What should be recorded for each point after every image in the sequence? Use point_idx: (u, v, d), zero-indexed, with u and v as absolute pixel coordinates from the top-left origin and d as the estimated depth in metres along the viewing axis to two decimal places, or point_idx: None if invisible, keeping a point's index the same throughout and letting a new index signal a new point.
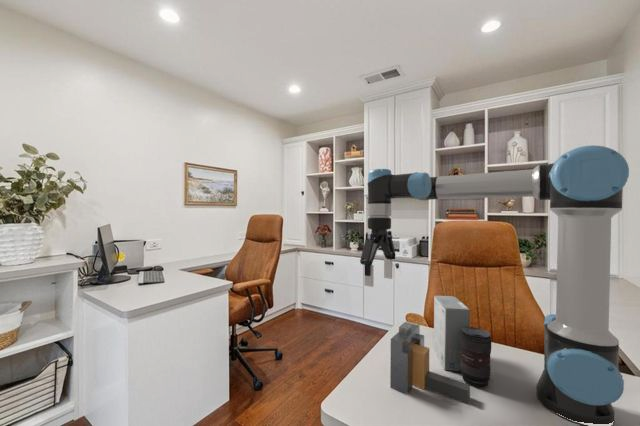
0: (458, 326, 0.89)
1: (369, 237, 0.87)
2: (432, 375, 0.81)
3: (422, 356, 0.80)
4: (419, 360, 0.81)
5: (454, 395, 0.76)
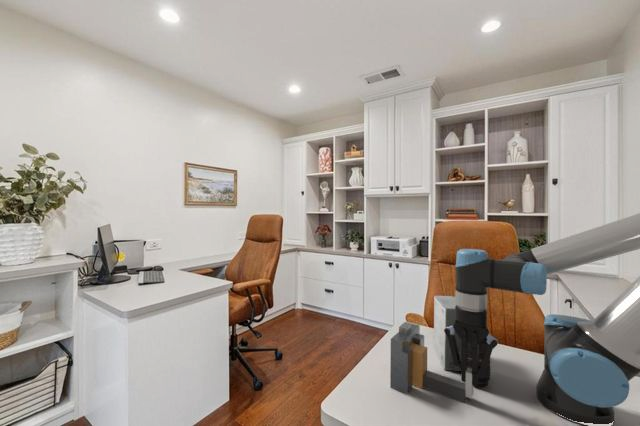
0: None
1: None
2: (430, 374, 0.81)
3: (420, 355, 0.81)
4: (417, 360, 0.81)
5: (452, 394, 0.76)
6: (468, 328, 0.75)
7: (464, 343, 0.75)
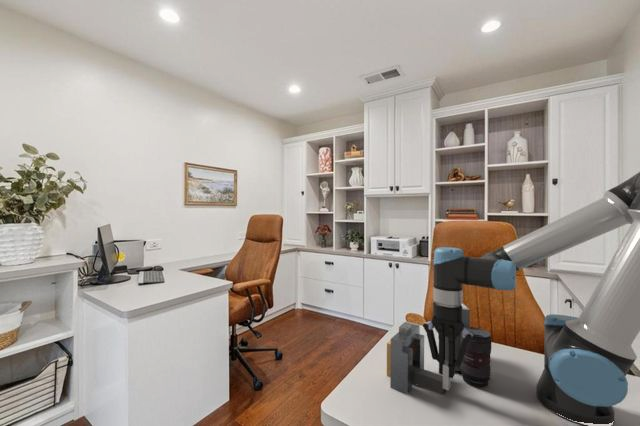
0: None
1: None
2: None
3: None
4: None
5: (430, 386, 0.80)
6: (445, 323, 0.78)
7: (441, 337, 0.78)
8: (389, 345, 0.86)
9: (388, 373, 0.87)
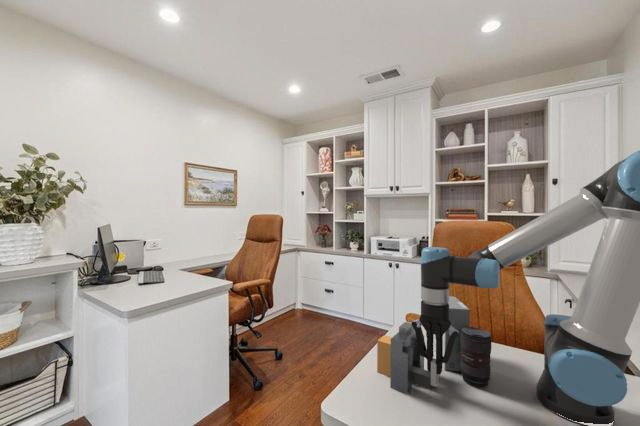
0: (457, 326, 0.89)
1: None
2: None
3: (390, 346, 0.86)
4: (388, 351, 0.87)
5: (419, 382, 0.82)
6: (432, 321, 0.80)
7: (429, 335, 0.80)
8: (379, 342, 0.88)
9: (378, 370, 0.88)
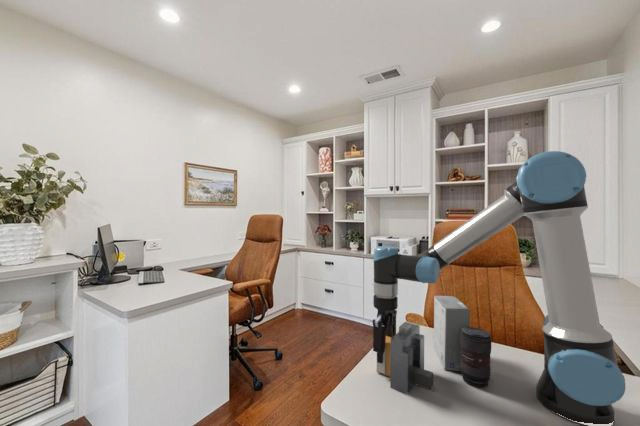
0: (457, 326, 0.89)
1: (377, 326, 0.85)
2: None
3: (390, 346, 0.86)
4: (387, 350, 0.87)
5: (418, 382, 0.82)
6: (388, 313, 0.89)
7: (387, 327, 0.87)
8: None
9: None
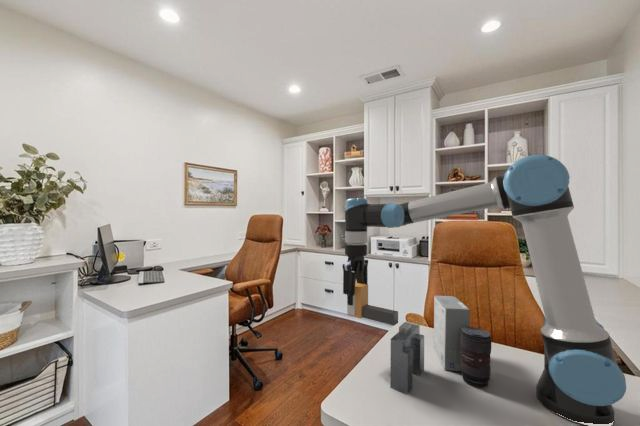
0: (457, 326, 0.89)
1: (346, 269, 0.91)
2: (368, 306, 0.93)
3: (359, 289, 0.92)
4: (357, 294, 0.93)
5: (384, 319, 0.88)
6: (358, 259, 0.95)
7: (357, 272, 0.93)
8: None
9: None
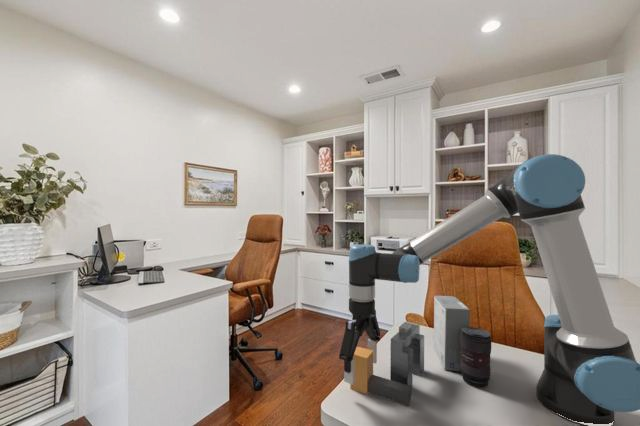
0: (457, 326, 0.89)
1: (349, 327, 0.76)
2: (375, 379, 0.79)
3: (365, 360, 0.78)
4: (362, 365, 0.79)
5: (396, 398, 0.75)
6: (364, 318, 0.81)
7: (361, 333, 0.78)
8: (353, 356, 0.80)
9: (352, 386, 0.80)
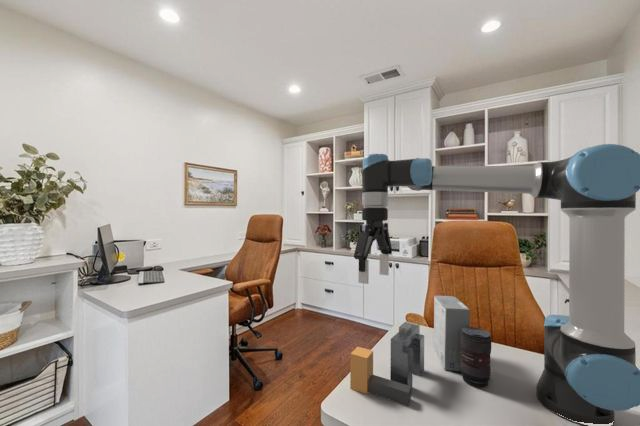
0: (457, 326, 0.89)
1: (364, 229, 0.78)
2: (375, 379, 0.79)
3: (365, 360, 0.78)
4: (362, 365, 0.79)
5: (396, 398, 0.75)
6: (377, 225, 0.83)
7: (375, 238, 0.80)
8: (353, 356, 0.80)
9: (352, 386, 0.80)
